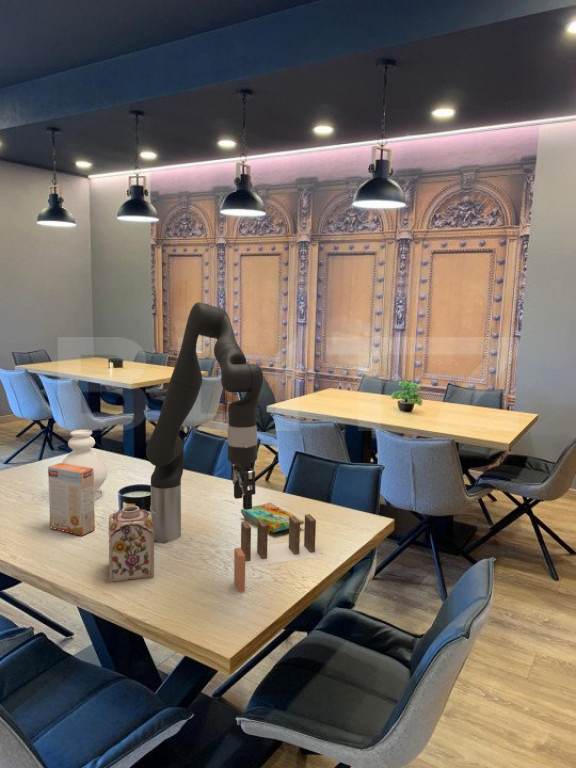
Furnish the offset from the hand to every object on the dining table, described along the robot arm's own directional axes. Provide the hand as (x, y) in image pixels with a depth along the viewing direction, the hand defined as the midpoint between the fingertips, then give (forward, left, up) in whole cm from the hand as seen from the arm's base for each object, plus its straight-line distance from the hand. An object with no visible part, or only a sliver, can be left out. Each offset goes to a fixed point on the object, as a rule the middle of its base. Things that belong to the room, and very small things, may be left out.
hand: (242, 503), depth 146 cm
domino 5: (+25, +15, -22) cm, 37 cm away
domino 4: (+20, +15, -22) cm, 33 cm away
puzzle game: (+20, +37, -23) cm, 48 cm away
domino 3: (+10, +15, -22) cm, 29 cm away
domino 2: (+5, +15, -22) cm, 27 cm away
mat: (+14, +15, -23) cm, 31 cm away
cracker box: (-43, +51, -23) cm, 70 cm away
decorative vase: (-40, +82, -23) cm, 94 cm away
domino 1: (-1, -1, -23) cm, 23 cm away
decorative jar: (-27, +17, -23) cm, 39 cm away
